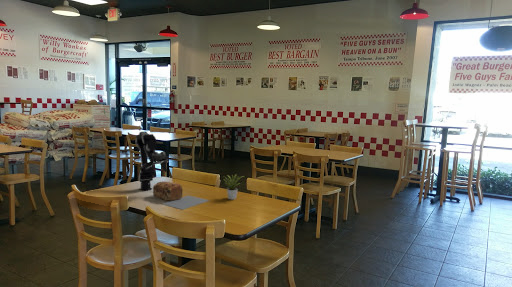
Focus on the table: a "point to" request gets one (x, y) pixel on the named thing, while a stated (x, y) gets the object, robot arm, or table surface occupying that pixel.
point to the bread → (168, 191)
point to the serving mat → (185, 202)
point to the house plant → (232, 187)
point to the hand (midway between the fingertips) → (161, 174)
